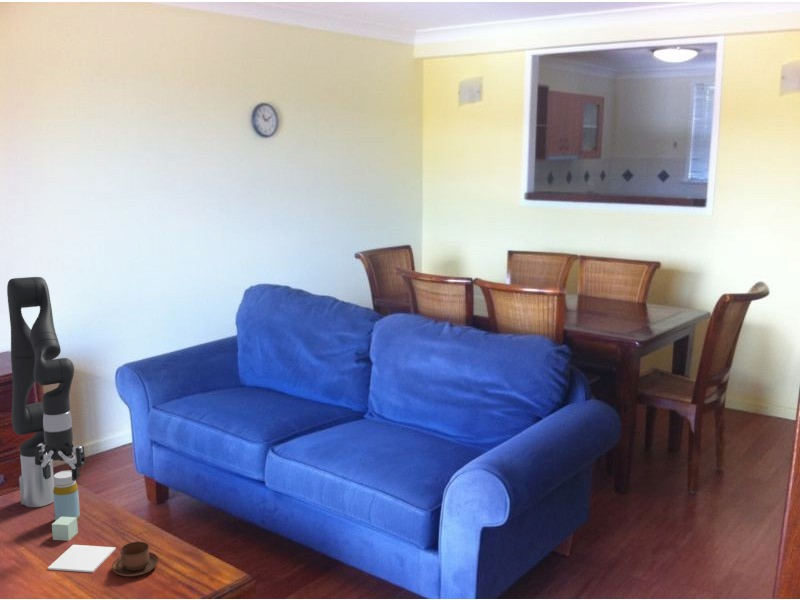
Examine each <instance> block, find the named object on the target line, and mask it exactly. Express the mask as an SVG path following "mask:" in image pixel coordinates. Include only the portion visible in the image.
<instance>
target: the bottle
mask: <svg viewBox="0 0 800 600" xmlns="http://www.w3.org/2000/svg"><path fill="white" fill-rule="evenodd" d="M53 476H54V490H53V495H54V501H53V506H54V518H55V521H56V520H57V519H59V518H60V517H77V521H78V520H79V519H80V517H81V515H80V514H81V513H80V511H81V510H80V497H79V486H78V484H77V480H76V481H72V470H61V471H58V472H56V473H54V474H53Z"/></svg>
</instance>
